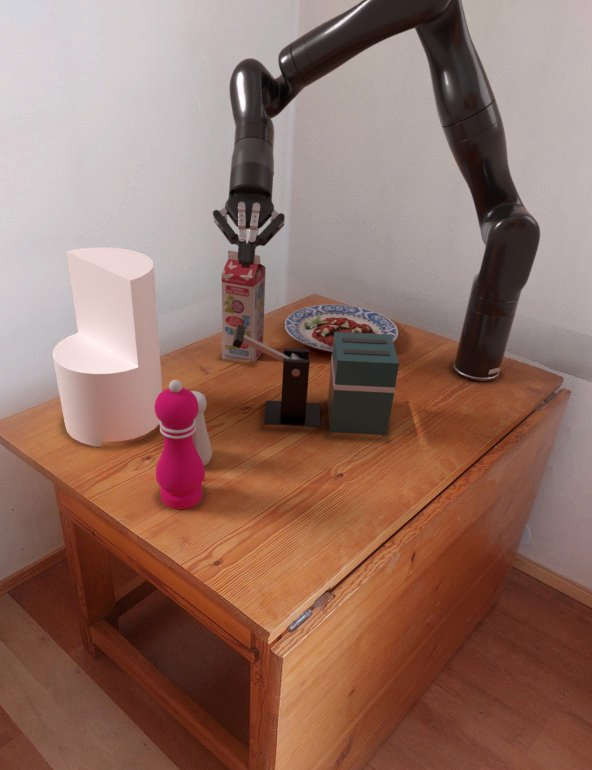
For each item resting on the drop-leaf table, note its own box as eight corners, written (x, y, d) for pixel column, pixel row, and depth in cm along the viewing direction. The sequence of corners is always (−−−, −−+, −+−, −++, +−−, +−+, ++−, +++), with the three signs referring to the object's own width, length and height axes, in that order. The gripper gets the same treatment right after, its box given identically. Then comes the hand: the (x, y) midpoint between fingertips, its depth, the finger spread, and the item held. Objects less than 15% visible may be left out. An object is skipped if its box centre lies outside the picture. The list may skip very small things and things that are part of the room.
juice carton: (234, 346, 139) (234, 245, 127) (262, 352, 138) (266, 250, 125) (222, 359, 134) (221, 255, 121) (251, 365, 132) (253, 260, 120)
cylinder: (127, 385, 123) (111, 240, 107) (184, 421, 114) (176, 267, 98) (46, 418, 113) (15, 262, 97) (101, 459, 103) (77, 295, 87)
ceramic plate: (418, 337, 147) (421, 325, 145) (349, 373, 131) (351, 360, 129) (332, 304, 161) (333, 293, 159) (261, 333, 145) (261, 321, 144)
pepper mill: (213, 488, 99) (210, 373, 87) (193, 516, 93) (188, 398, 82) (171, 477, 100) (163, 364, 89) (149, 504, 95) (137, 387, 83)
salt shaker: (170, 469, 102) (165, 399, 95) (187, 450, 106) (183, 382, 99) (202, 479, 100) (200, 408, 93) (218, 459, 105) (217, 390, 97)
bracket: (264, 429, 113) (266, 364, 105) (266, 405, 119) (268, 343, 112) (320, 432, 113) (326, 367, 105) (319, 408, 119) (325, 346, 112)
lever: (230, 347, 105) (237, 336, 104) (233, 332, 110) (240, 321, 109) (299, 381, 108) (306, 371, 107) (299, 365, 113) (306, 354, 112)
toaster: (328, 437, 111) (336, 360, 103) (325, 404, 121) (333, 330, 112) (387, 440, 111) (400, 363, 103) (380, 406, 121) (392, 333, 112)
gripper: (212, 158, 108) (204, 253, 105) (290, 162, 108) (284, 257, 105) (216, 184, 115) (209, 273, 112) (289, 187, 115) (284, 277, 112)
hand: (245, 265), depth 108 cm, fingers closed
